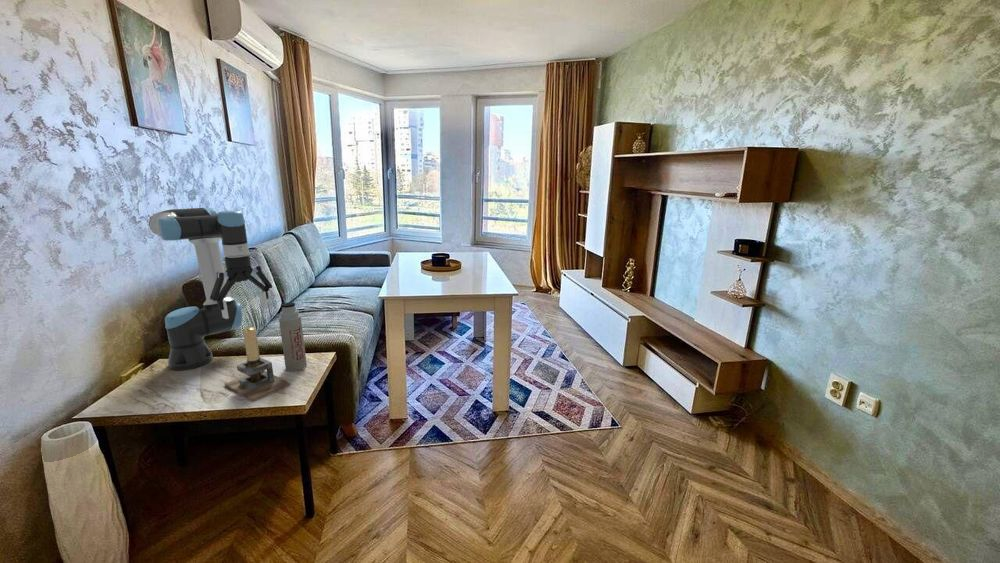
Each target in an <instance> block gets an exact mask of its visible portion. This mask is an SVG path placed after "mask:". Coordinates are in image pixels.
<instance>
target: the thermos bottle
mask: <svg viewBox="0 0 1000 563" xmlns="http://www.w3.org/2000/svg"><path fill="white" fill-rule="evenodd" d="M280 306H281V311H280V313H279V318H278V323H279V331H280V337H281V345H282V351H283V360H284V367H285V370H286V371H287V370H288V371H287V372H298V371H302V370H303V368H304V369H305V368H307V366H308V362H307V355H306V350H305V349H306V347H305V339H304V332H303V325H302V316H301V315H300V312H299V309H296V303H295V302H292V301H289V302H284V303H282V304H281V305H280ZM301 369H302V370H301ZM297 370H298V371H297Z"/></svg>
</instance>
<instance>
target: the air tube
mask: <svg viewBox="0 0 1000 563" xmlns="http://www.w3.org/2000/svg"><path fill="white" fill-rule="evenodd" d="M242 333H243V340H244V346H245V353H246V362H247V363H248V367H249V368H250V369H251V368H254V367H256V366H259V365H261V363H260V358H261V356H260V349H259V343H258V337H257V328H256V327H253V326H250V327H245V328H243V329H242ZM262 379H263V377H262V372H259V373H256V374H254V375H251V376H250V380H251V383H255V382H257V381H260V380H262Z"/></svg>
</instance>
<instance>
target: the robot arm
mask: <svg viewBox="0 0 1000 563" xmlns="http://www.w3.org/2000/svg"><path fill="white" fill-rule="evenodd" d="M148 226H149V229H150V230H151V232H152V233H153V234H154V235H157V236H158V237H160V238H161V239H162V240H163V241H180V240H188V242H189V243H191V244H192V245H193V246H194V250H195V253H196V259H197V263H198V268H199V272H200V276H201V281H202V286H203V289H204V294H205V301H204V302H203V304H202V305H203V308H199V307H198V306H187V307H182V308H178V309H175V310H173V311H171V312H169V313H167V315H166V316H165V317H164V323H165V326H164V327H165V329H166V332H167V339H168V343H169V347H170V351H169V355H168V360H167V364H168V368H169V369H170V370H171V371H172V370H173V371H186V370H191V369H196V368H199V367H201V366H204V365H206V364H208V363H210V362H211V361H212V360H213V358H214V357H213V352H212V351H211V350H210V348H209V346H208V345H207V343H206V341H205V337H206V336H211V335H216V334H220V333H223V332H227V331H228V332H230V331H232V330H236V329H239V328H240V327H241V326H242V323H243V309H242V306H241V303H240V302H237V301H236V300H235V298H233V297H232V296H231V295H230V290H231V288H232V287H233V285H235V284H236V283H241V282H247V281H250V282H251V283H252V284H254V285H255V286H256V287H257V288H259V289H260V290H259V297H260V303H261V304H260V305H261V308H263V309H268V308H269V306H268V299H269V291H270V289H272V288H273V285H272V284H271V282H270V280H269V279H268V278H267V277H266V275H265V274H264V272H263V271H262V267H261V266H260V265H256V264H255V265H253V266H251V264H252V262H251V256H250V255H249V254H250V249H249V243H248V236H247V229H246V220H245V218H244V213H243V212H242V211H240V210H222V211H218V210H217V209H216V208H213V207H195V208H193V207H192V208H171V209H167V210H162V211H159V212H157V213H154V214H153V215H152V216H151V217H150V218H149V221H148ZM220 241H221V245H222V252H223V256H225V257H224V261H223V257H222V253H221V249H220V244H219V243H220ZM223 262H224V263H225V267H224V263H223ZM225 269H226V270H225ZM253 272H254V273H255V274H256V275H257V277H258V278H259V279H260V280H261V282H260V281H259V280H258V279H257V278H255V276H253V275H252V273H253ZM227 277H228V278H227Z"/></svg>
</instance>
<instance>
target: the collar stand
mask: <svg viewBox="0 0 1000 563" xmlns="http://www.w3.org/2000/svg"><path fill="white" fill-rule="evenodd" d="M260 363H261V365H259V366H256V367H254V368H251V369H250V368H249V367H248V363H247V361H245V362H242V363H239V364H237V365H236V370H237V371H238V372H240V373H242V374H244V375H242V376H240V377H238V378H235V379H233V380H230V381H227V382H224V386H225V387H226V388H227V389H230V390H232V391H233V392H235V393H236V394H238V395H240V396H243V397H244V398H246V399H248V400H250V401H251V402H254V401H257V400H259V399H261V398H263V397H266V396H268V395H271V394H272V393H275V392H277V391H279V390H282V389H284V388H286V387H289V386H290V385H291V383H290V382H291V381H287V380H286V379H284V378H281V377H279V376H277V375H274V370H273V369H274V368H273V363H272V361H269V360H267V359H265V358H262V357H260ZM259 372H262V377H263V379H262V380H260V381H257V382H255V383H251V380H250V376H251V375H254V374H256V373H259Z"/></svg>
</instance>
